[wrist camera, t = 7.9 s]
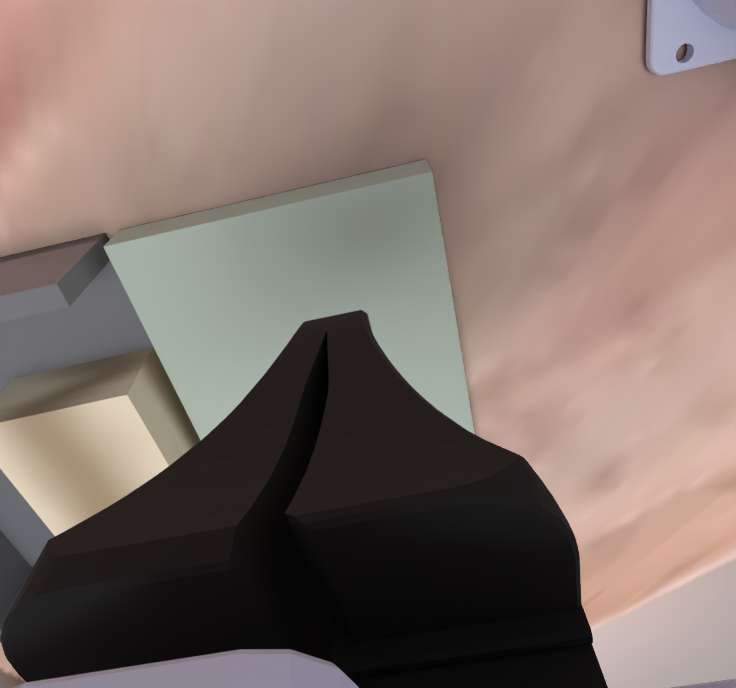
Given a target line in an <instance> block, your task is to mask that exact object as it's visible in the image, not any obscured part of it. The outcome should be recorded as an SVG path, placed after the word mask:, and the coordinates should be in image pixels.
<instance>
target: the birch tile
mask: <svg viewBox="0 0 736 688" xmlns="http://www.w3.org/2000/svg"><path fill="white" fill-rule="evenodd" d="M200 441H201V440H200V438H199V436H198V434H197V432H196V430H195V428H194V426H193V424H192V422H191V420H190V418H189V416H188V414H187V412H186V410H185V408H184V406H183V404H182V402H181V400H180V398H179V396H178V394H177V392H176V391H175V389H174V387H173V385H172V383H171V381H170V379H169V377H168V375H167V374H166V372H165V370H164V368H163V366H162V364H161V362H160V360H159V358H158V357H157V355H156V353H155V351H154V349H153V347H152V348H148V349H143V350H139V351H135V352H130V353H126V354H121V355H117V356H113V357H108V358H104V359H99V360H95V361H91V362H86V363H82V364H78V365H73V366H69V367H64V368H60V369H56V370H51V371H47V372H42V373H38V374H34V375H29V376H25V377H20V378H16V379H12V380H11V381H10V382H9V383H8V384H7V385H6V386H5V388H4V389H3V390H2V391H1V392H0V469H1V470H2V471H3V472H4V474H5V475H6V476H7V477H8V479H9V480H10V481H11V482H12V484H13V485H14V486H15V487H16V489H17V490H18V491H19V492H20V494H21V495H22V496H23V497H24V499H25V500H26V501H27V502H28V503H29V505H30V506H31V507H32V508H33V510H34V511H35V512H36V513H37V515H38V516H39V517H40V518H41V520H42V521H43V522H44V523H45V525H46V526H47V527H48V528H49V530H50V531H51V532H52V533H53V534H54V536H57V535H59V534H61V533H62V532H64V531H66V530H68V529H70V528H71V527H73V526H75V525H77V524H78V523H80V522H82V521H84V520H86V519H87V518H89V517H91V516H93V515H94V514H96V513H98V512H100V511H102V510H103V509H105V508H107V507H109V506H110V505H112V504H113V503H115V502H117V501H118V500H120V499H122V498H123V497H125V496H126V495H128V494H129V493H131V492H132V491H134V490H135V489H137V488H138V487H140V486H141V485H143V484H144V483H146V482H147V481H149V480H150V479H152V478H153V477H154V476H156V475H157V474H159V473H160V472H162V471H163V470H164V469H166V468H167V467H168V466H170V465H171V464H172V463H173V462H175V461H176V460H177V459H178V458H180V457H181V456H182V455H183V454H185V453H186V452H187V451H188V450H190V449H191V448H192V447H193V446H195V445H196V444H197V443H198V442H200Z"/></svg>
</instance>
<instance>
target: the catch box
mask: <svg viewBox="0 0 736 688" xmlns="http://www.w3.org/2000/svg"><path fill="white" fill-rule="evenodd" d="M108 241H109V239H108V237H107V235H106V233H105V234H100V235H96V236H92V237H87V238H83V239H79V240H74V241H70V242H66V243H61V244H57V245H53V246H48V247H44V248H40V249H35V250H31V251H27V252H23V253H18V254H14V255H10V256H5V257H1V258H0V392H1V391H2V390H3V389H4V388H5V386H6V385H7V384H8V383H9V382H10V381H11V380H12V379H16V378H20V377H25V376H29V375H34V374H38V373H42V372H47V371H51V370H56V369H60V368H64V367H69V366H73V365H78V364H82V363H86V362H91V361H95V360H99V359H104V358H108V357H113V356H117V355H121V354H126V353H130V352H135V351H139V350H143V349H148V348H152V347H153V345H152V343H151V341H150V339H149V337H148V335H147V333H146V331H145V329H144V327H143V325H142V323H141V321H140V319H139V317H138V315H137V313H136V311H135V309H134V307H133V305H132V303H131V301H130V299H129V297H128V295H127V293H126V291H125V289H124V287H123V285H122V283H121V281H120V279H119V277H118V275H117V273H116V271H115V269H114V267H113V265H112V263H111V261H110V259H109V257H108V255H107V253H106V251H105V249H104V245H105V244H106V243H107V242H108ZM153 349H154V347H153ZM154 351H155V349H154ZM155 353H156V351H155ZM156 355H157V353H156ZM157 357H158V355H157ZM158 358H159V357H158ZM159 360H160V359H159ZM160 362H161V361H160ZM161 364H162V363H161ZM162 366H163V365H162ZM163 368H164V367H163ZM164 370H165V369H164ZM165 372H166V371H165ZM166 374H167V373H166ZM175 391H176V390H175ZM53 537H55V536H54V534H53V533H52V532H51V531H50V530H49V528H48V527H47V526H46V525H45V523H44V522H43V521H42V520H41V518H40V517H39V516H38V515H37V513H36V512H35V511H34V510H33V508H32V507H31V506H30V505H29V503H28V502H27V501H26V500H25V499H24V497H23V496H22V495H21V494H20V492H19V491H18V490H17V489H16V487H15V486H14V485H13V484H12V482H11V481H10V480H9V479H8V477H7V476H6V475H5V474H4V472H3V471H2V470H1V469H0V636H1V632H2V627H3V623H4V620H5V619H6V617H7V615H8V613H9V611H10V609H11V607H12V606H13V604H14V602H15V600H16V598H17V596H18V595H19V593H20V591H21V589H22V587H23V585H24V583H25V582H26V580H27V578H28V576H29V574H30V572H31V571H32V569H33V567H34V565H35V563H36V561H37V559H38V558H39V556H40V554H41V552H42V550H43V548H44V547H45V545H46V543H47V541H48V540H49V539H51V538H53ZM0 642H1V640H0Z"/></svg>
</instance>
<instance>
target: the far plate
mask: <svg viewBox="0 0 736 688" xmlns="http://www.w3.org/2000/svg"><path fill="white" fill-rule="evenodd" d="M104 249H105V251H106V253H107V255H108V257H109V259H110V261H111V263H112V265H113V267H114V269H115V271H116V273H117V275H118V277H119V279H120V281H121V283H122V285H123V287H124V289H125V291H126V293H127V295H128V297H129V299H130V301H131V303H132V305H133V307H134V309H135V311H136V313H137V315H138V317H139V319H140V321H141V323H142V325H143V327H144V329H145V331H146V333H147V335H148V337H149V339H150V341H151V343H152V345H153V347H154V349H155V351H156V353H157V355H158V357H159V359H160V361H161V363H162V365H163V367H164V369H165V371H166V373H167V375H168V377H169V379H170V381H171V383H172V385H173V387H174V389H175V390H176V392H177V394H178V396H179V398H180V400H181V402H182V404H183V406H184V408H185V410H186V412H187V414H188V416H189V418H190V420H191V422H192V424H193V426H194V428H195V430H196V432H197V434H198V436H199V438H200V440H202V439H203V438H204V437H205V436H207V435H208V434H209V433H210V432H211V431H212V430H213V429H214V428H215V427H216V426H217V425H218V424H219V423H221V422H222V421H223V420H224V419H225V418H226V417H227V416H228V415H229V414H230V413H231V412H232V411H233V410H234V409H235V408H236V407H237V406H238V404H239V403H240V402H241V401H242V400H243V399H244V398H245V396H246V395H247V394H248V393H249V392H250V391H251V389H252V388H253V387H254V386H255V385H256V384H257V382H258V381H259V380H260V379H261V378H262V377H263V375H264V374H265V373H266V372H267V370H268V369H269V368H270V366H271V365H272V364H273V363H274V361H275V360H276V359H277V357H278V356H279V355H280V353H281V352H282V351H283V349H284V348H285V346H286V345H287V344H288V342H289V341H290V339H291V338H292V337H293V335H294V334H295V333H296V331H297V330H298V328H299V327H300V326H301V325H302V323H303V322H305V321H309V320H314V319H319V318H324V317H329V316H333V315H338V314H343V313H348V312H353V311H357V310H362V311H364V312H366V313H367V314H368V317H369V321H370V325H371V329H372V333H373V335H374V337H375V339H376V341H377V342H378V344H379V346H380V347H381V349H382V350H383V352H384V353H385V355H386V356H387V358H388V359H389V360H390V362H391V363H392V364H393V366H394V367H395V368H396V369H397V370H398V372H399V373H400V374H401V375H402V376H403V378H404V379H405V380H406V381H407V382H408V383H409V384H410V385H411V386H412V387H413V388H414V389H415V390H416V391H417V392H418V393H419V394H420V395H421V396H422V397H423V398H424V399H426V400H427V401H428V402H429V403H430V404H432V405H433V406H434V407H435V408H436V409H437V410H439V411H440V412H442V413H443V414H444V415H446V416H447V417H449V418H450V419H452V420H453V421H455V422H456V423H457V424H459V425H460V426H462V427H463V428H465V429H466V430H468V431H469V432H471V433H473V434H475V433H474V427H473V421H472V415H471V409H470V402H469V396H468V390H467V384H466V378H465V372H464V365H463V359H462V353H461V347H460V341H459V334H458V328H457V322H456V316H455V310H454V304H453V297H452V291H451V285H450V279H449V273H448V267H447V260H446V254H445V248H444V242H443V236H442V229H441V223H440V217H439V211H438V205H437V199H436V192H435V186H434V180H433V174H432V170H431V168H430V165H429V163H428V161H427V159H425V160H420V161H416V162H412V163H407V164H403V165H399V166H394V167H390V168H386V169H381V170H377V171H373V172H368V173H364V174H360V175H356V176H351V177H347V178H343V179H338V180H334V181H330V182H325V183H321V184H317V185H312V186H308V187H304V188H299V189H295V190H291V191H286V192H282V193H278V194H273V195H269V196H265V197H260V198H256V199H252V200H247V201H243V202H239V203H234V204H230V205H226V206H221V207H217V208H213V209H208V210H204V211H200V212H195V213H191V214H187V215H183V216H178V217H174V218H170V219H165V220H161V221H157V222H152V223H148V224H144V225H139V226H135V227H131V228H126V229H122V230H118V232H117V233H116V234H115V235H114V236H113V237H112V238H111V239H110V240H109V241H108V242H107V243H106V244H105V245H104Z"/></svg>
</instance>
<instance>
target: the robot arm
mask: <svg viewBox="0 0 736 688" xmlns="http://www.w3.org/2000/svg"><path fill="white" fill-rule="evenodd" d="M683 44H686V45H687V49H688V50H687V53H686V56H685V57H684V58H683V59H682V60H680V61H677V60H676V53H677V50H678V49H679V47H680V46H681V45H683ZM732 59H736V0H648V3H647V33H646V66H647V68H648V69H649V71H650V72H652V73H654V74H657V75H668V74H673V73H677V72H681V71H685V70H690V69H694V68H698V67H702V66H707V65H711V64H715V63H719V62H723V61H728V60H732ZM0 640H1V643H2V647H3V650H4V654H5V656H6V658H7V660H8V661H9V662H10V664H11V665H12V666H13V668H14V669H15V670H16V671H17V673H18V674H19V675H20V676H21V677H22V678H23V679H24V680H25V681H26V683H24V684H21V685H18V686H15V687H13V688H608V687H607V685H606V682H605V679H604V676H603V673H602V671H601V668H600V665H599V662H598V660H597V657H596V654H595V651H594V649H593V646H592V643H593V637H592V632H591V628H590V626H589V623H588V620H587V618H586V615H585V612H584V610H583V607H582V604H581V584H580V558H579V551H578V546H577V542H576V539H575V536H574V534H573V531H572V529H571V527H570V525H569V523H568V521H567V519H566V518H565V516H564V514H563V512H562V511H561V509H560V507H559V506H558V504H557V502H556V501H555V499H554V498H553V496H552V494H551V493H550V492H549V490H548V489H547V487H546V486H545V485H544V483H543V482H542V480H541V479H540V478H539V476H538V475H537V474H536V472H535V471H534V470H533V469H532V467H531V466H530V465H529V463H528V462H527V461H526V460H525V458H523V457H522V456H520V455H518V454H516V453H513V452H511V451H509V450H507V449H504V448H502V447H500V446H497V445H495V444H493V443H491V442H488V441H486V440H484V439H482V438H480V437H478V436H476V435H475V434H473V433H471V432H469V431H468V430H466V429H465V428H463V427H462V426H460V425H459V424H457V423H456V422H455V421H453V420H452V419H450V418H449V417H447V416H446V415H444V414H443V413H442V412H440V411H439V410H437V409H436V408H435V407H434V406H433V405H432V404H430V403H429V402H428V401H427V400H426V399H424V398H423V397H422V396H421V395H420V394H419V393H418V392H417V391H416V390H415V389H414V388H413V387H412V386H411V385H410V384H409V383H408V382H407V381H406V380H405V379H404V378H403V376H402V375H401V374H400V373H399V372H398V370H397V369H396V368H395V367H394V366H393V364H392V363H391V362H390V360H389V359H388V358H387V356H386V355H385V353H384V352H383V350H382V349H381V347H380V346H379V344H378V342H377V341H376V339H375V337H374V335H373V333H372V329H371V325H370V321H369V317H368V314H367V313H366V312H364V311H362V310H357V311H353V312H348V313H343V314H338V315H333V316H329V317H324V318H319V319H314V320H309V321H305V322H303V323H302V325H301V326H300V327H299V328H298V330H297V331H296V333H295V334H294V335H293V337H292V338H291V339H290V341H289V342H288V344H287V345H286V346H285V348H284V349H283V351H282V352H281V353H280V355H279V356H278V357H277V359H276V360H275V361H274V363H273V364H272V365H271V366H270V368H269V369H268V370H267V372H266V373H265V374H264V375H263V377H262V378H261V379H260V380H259V381H258V382H257V384H256V385H255V386H254V387H253V388H252V389H251V391H250V392H249V393H248V394H247V395H246V396H245V398H244V399H243V400H242V401H241V402H240V403H239V404H238V406H237V407H236V408H235V409H234V410H233V411H232V412H231V413H230V414H229V415H228V416H227V417H226V418H225V419H224V420H223V421H222V422H221V423H219V424H218V425H217V426H216V427H215V428H214V429H213V430H212V431H211V432H210V433H209V434H208V435H207V436H205V437H204V438H203V439H202V440H201V441H200V442H198V443H197V444H196V445H195V446H193V447H192V448H191V449H190V450H188V451H187V452H186V453H185V454H183V455H182V456H181V457H180V458H178V459H177V460H176V461H175V462H173V463H172V464H171V465H170V466H168V467H167V468H166V469H164V470H163V471H162V472H160V473H159V474H157V475H156V476H154V477H153V478H152V479H150V480H149V481H147V482H146V483H144V484H143V485H141V486H140V487H138V488H137V489H135V490H134V491H132V492H131V493H129V494H128V495H126V496H125V497H123V498H122V499H120V500H118V501H117V502H115V503H113V504H112V505H110V506H109V507H107V508H105V509H103V510H102V511H100V512H98V513H96V514H94V515H93V516H91V517H89V518H87V519H86V520H84V521H82V522H80V523H78V524H77V525H75V526H73V527H71V528H70V529H68V530H66V531H64V532H62V533H61V534H59V535H57V536H55V537H53V538H51V539H49V540H48V541H47V543H46V545H45V547H44V548H43V550H42V552H41V554H40V556H39V558H38V559H37V561H36V563H35V565H34V567H33V569H32V571H31V572H30V574H29V576H28V578H27V580H26V582H25V583H24V585H23V587H22V589H21V591H20V593H19V595H18V596H17V598H16V600H15V602H14V604H13V606H12V607H11V609H10V611H9V613H8V615H7V617H6V619H5V620H4V623H3V627H2V632H1V636H0ZM673 688H736V679H730V680H723V681H716V682H709V683H701V684H694V685H687V686H680V687H673Z"/></svg>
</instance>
